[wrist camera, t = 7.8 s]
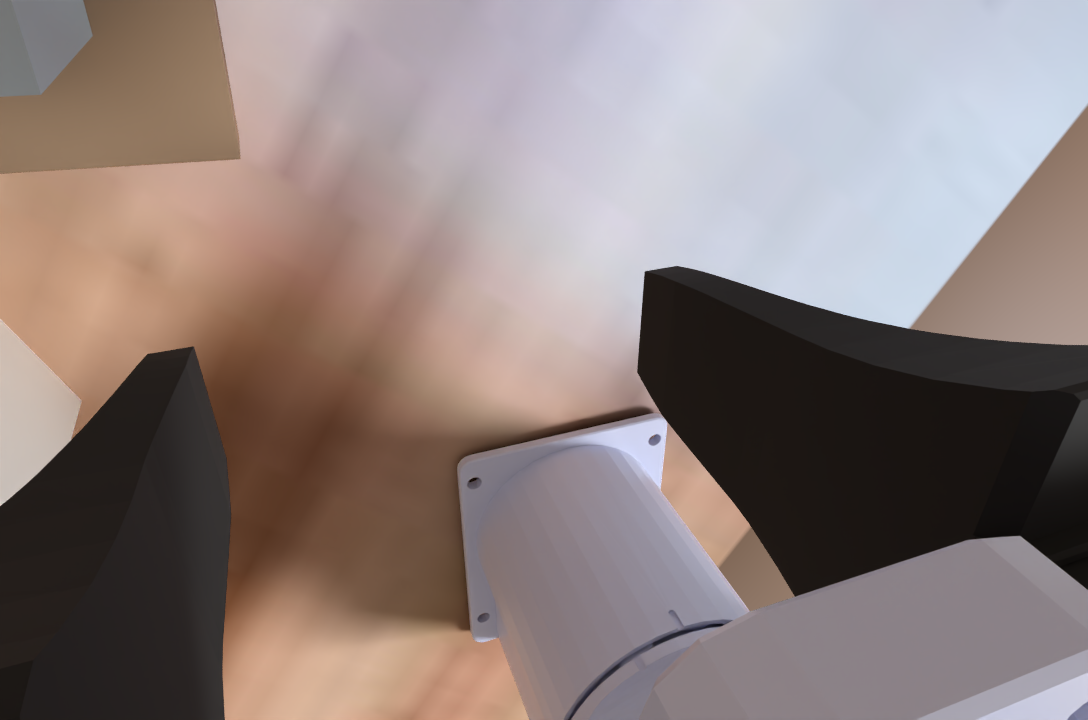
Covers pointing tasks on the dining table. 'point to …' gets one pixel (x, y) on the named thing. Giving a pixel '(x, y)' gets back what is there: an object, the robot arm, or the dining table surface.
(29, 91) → the slate block
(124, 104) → the brown block
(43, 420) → the cream block
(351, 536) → the dining table surface
